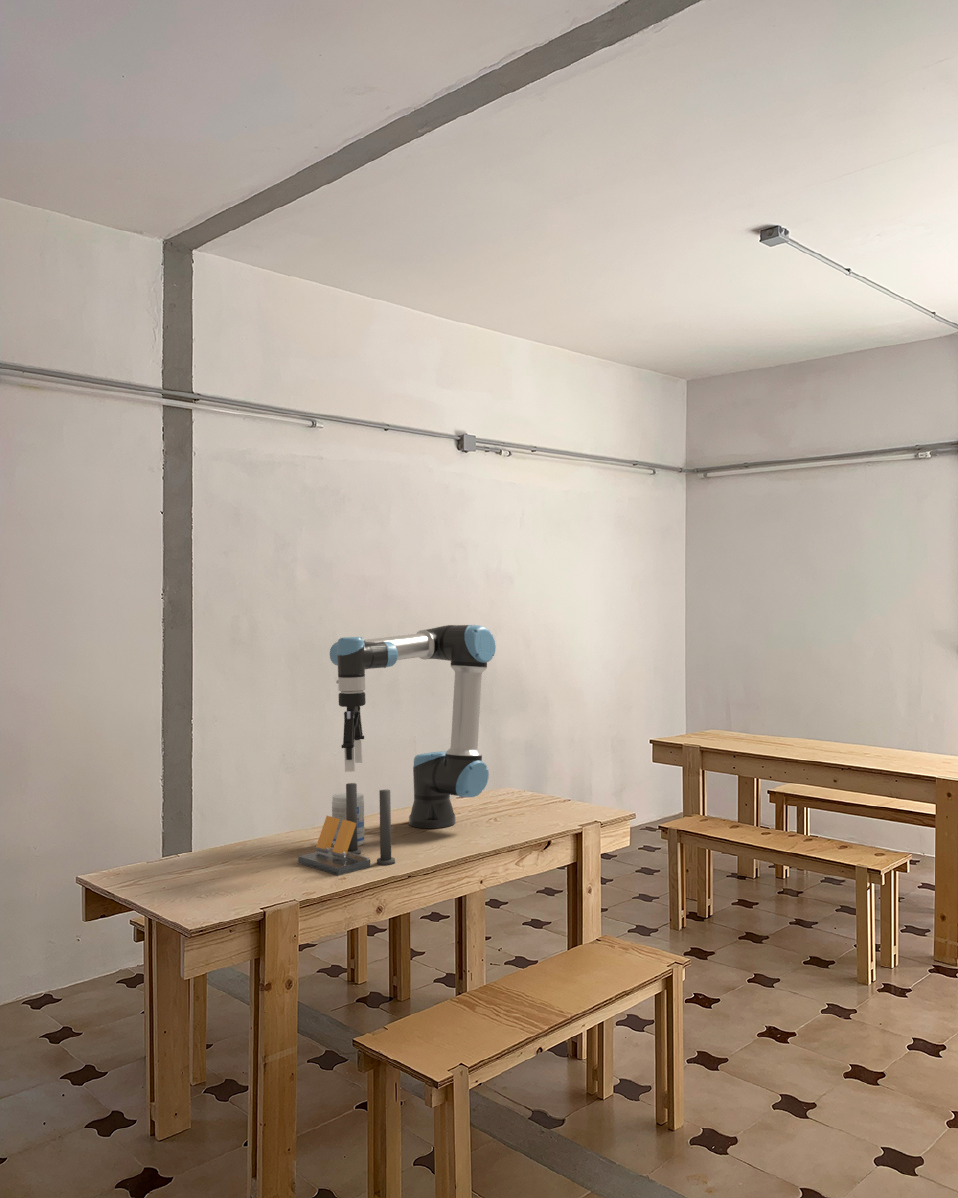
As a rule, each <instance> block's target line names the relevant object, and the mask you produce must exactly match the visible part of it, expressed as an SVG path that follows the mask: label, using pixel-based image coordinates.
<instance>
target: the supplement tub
mask: <svg viewBox="0 0 958 1198" xmlns="http://www.w3.org/2000/svg"><path fill="white" fill-rule="evenodd" d="M331 808H332V809H331V817H335V818H338V819H340V821H339V824H338V827H337V830H336V833H335V836H334V839H333V842H332V845H333V846H334V845H335V842H336V839H337V836H338V833H339V830H340V827H341V824H342V821H343V820H347V815H346V792H341V793H336V794H333V795H332V801H331ZM364 843H365V799H364V794H363V793H359V792H357V847H360V846H362V845H363V844H364Z"/></svg>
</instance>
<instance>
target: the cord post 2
mask: <svg viewBox="0 0 958 1198" xmlns="http://www.w3.org/2000/svg"><path fill="white" fill-rule="evenodd" d="M378 795H379V843H380V845H379V846H380V847H379V849H380V850H379V853H380V857H378V858H377V859H376V864H377V865H379V866H392V865H394V864H396V859H395V857H392V825H391V823H392V819H391V818H392V815H391V813H392V812H391V790H390V789H379V794H378Z"/></svg>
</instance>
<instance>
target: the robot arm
mask: <svg viewBox="0 0 958 1198" xmlns="http://www.w3.org/2000/svg"><path fill="white" fill-rule="evenodd" d="M494 637H495V636H494V634H492V632H491V631H490V629H489V628H487V627H486V626H483V625H476V624H464V625H463V624H460V625H459V624H450V625H449V624H448V625H442V626H436V627H432V628H428V629H422V630H418V631H417V632H416V633H413V634H406V635H405V634H404V635H394V636H385V637H378V638H376V637H375V638H367V639H364V637H362V636H348V637H347V636H345V637H344V636H343V637H340V638H339V639H338V640H337V641H336V642H334V643H333V644H332V645H331V647H330V648H329V649H330V650H329V659H330V661H331V663H332V664H333V665H335V666H337V676H338V679H337V680H336V681H335V682H336V684H338V691H339V693H338V706H340V707H343V708H346V711H344V712H343V716H344V717H343V718H344V721H343V722H344V723H343V736H342V737H343V738H342V739H343V741H342V744H341V749H344V772H345V773H346V772H348V773H349V772H351V773H352V772H356V764H361V763H363V742H362V741H363V740H364V739H365V735H363V727H362V725H363V724H362V716H361V707H364V706H365V705H366V693H365V690H366V674H365V672H366V670H372V669H385V668H388V667H393V666H394V665H396V663H397V661H401V660H409V659H415V658H419V659H420V660H439V661H440V660H442V661H449V662H450V667H451V668H452V670H453V671H454V682H453V683H454V684H453V685H454V686H453V699H452V701H453V702H452V717H451V719H452V720H451V734H450V735H451V737H450V748H448V750H443V751H442V750H441V751H432V752H431V751H430V752H423V753H420V754H417V755H415V757H413V765H412V766H413V767H412V769H413V773H412V774H413V804H412V807H411V811H410V814H409V816H408V824H409V826H410V827H413V828H418V829H441V828H447V827H452V826H453V825H455V824H456V823H457V822H456V814H455V813H454V812H455V811H454V808H453V806H452V805H453V804H452V803H451V797H450V796H451V795H452V796H457V797H460V798H475V797H478V796H479V795H480V794H482V792H483V791H484V790H485V788H486V787H487V785H488V781H489V776H490V775H489V773H490V772H489V769H488V767H487V764H486V763H485V762H483V761H482V760H483V754H482V753H481V751H480V750H479V748H478V746H479V732H480V731H479V729H480V712H481V711H480V710H481V697H482V695H481V691H482V675H483V672H485V671H486V670H487V668H488V663H489V662H490V661H491V660H492V659H493V657H494V656H495V654H496V645H497V644H496V639H495V638H494Z"/></svg>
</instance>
